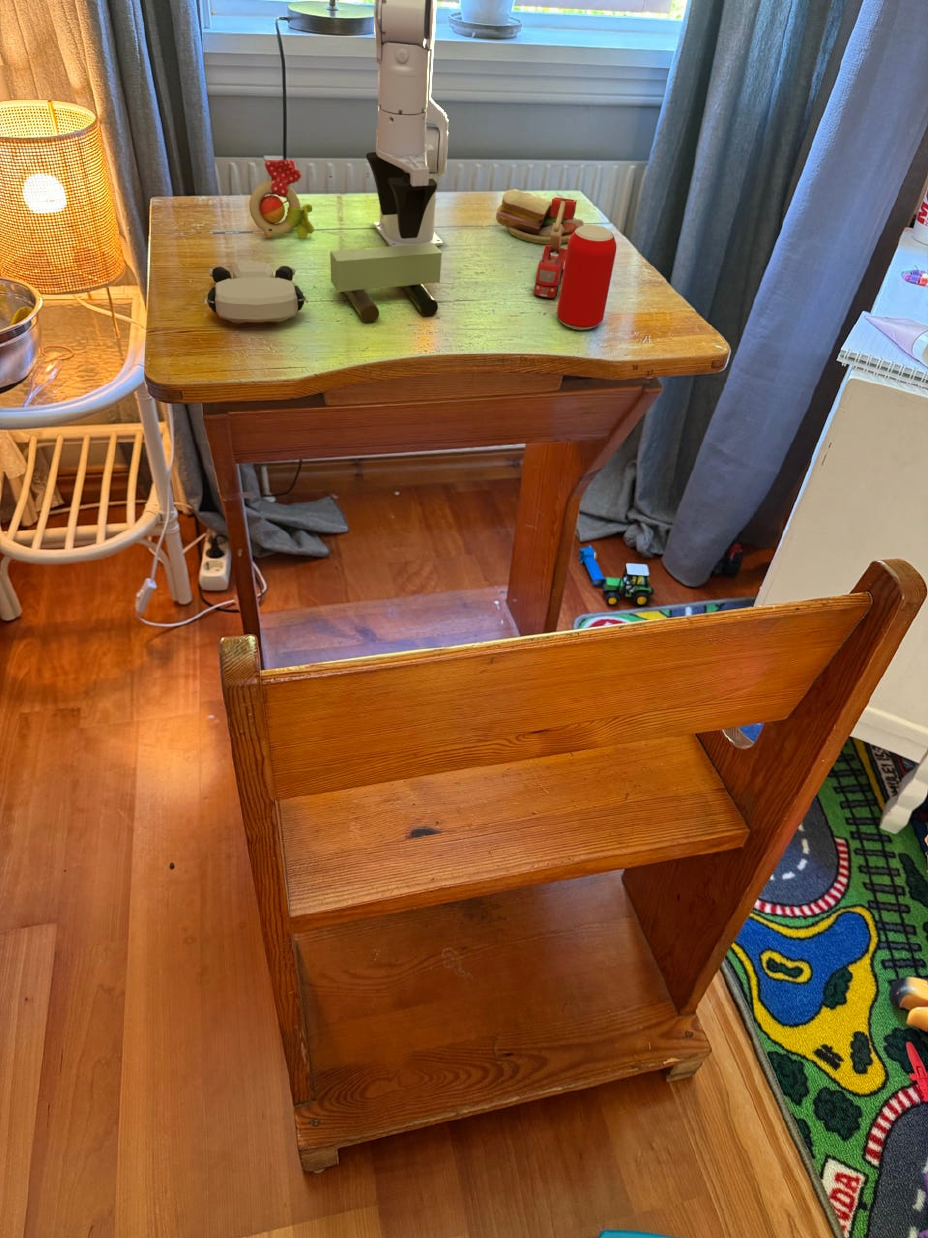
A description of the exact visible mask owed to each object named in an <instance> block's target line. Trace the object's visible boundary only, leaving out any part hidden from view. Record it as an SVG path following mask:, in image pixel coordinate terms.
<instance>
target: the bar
mask: <svg viewBox="0 0 928 1238" xmlns="http://www.w3.org/2000/svg"><path fill="white" fill-rule="evenodd" d="M329 254H330V257H329V258H330V282H331V284H332V285H333V287H334V289H335V290H336V291H337V293H342V292H343V293H344V291H354V290H365V291H366V290H373V289H386V288H397V287H401V286H408V285H418V284H423V285H428V284H440V283H441V267H442V252H441V250H440V249H439V248H438V246H435V245H434V243H428V244H415V245H402V246H379V247H365V248H355V249H354V248H352V249H339V250H330V251H329Z"/></svg>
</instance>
